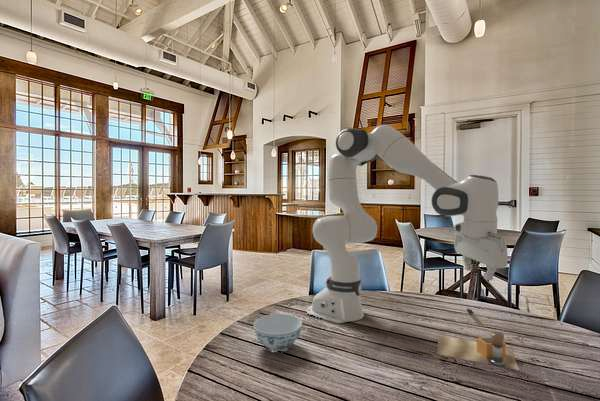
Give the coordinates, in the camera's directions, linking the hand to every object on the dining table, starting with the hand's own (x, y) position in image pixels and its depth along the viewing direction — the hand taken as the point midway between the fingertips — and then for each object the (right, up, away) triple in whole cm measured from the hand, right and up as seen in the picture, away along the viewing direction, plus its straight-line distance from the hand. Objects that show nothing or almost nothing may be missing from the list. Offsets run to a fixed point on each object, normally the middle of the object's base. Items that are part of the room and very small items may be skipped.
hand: (477, 274), depth 98 cm
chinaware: (-61, -24, +3) cm, 65 cm away
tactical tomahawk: (+13, -23, +22) cm, 34 cm away
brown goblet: (0, -22, -9) cm, 24 cm away
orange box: (+2, -22, -4) cm, 22 cm away
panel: (-2, -23, -2) cm, 23 cm away
